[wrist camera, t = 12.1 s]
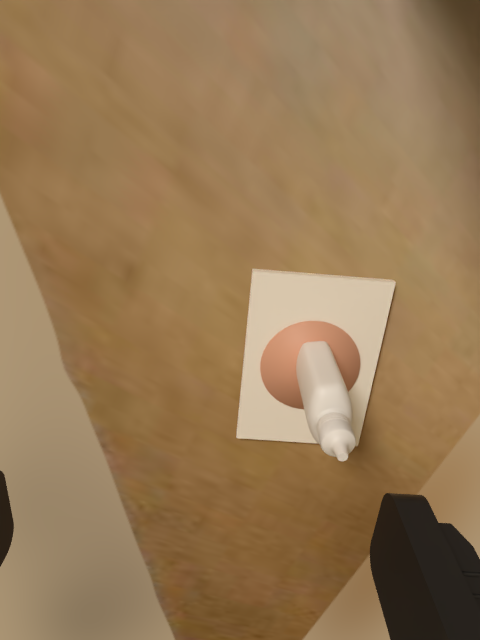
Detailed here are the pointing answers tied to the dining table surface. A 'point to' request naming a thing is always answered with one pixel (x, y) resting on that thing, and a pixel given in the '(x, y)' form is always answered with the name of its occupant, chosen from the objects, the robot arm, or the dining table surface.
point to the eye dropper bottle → (325, 399)
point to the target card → (298, 328)
